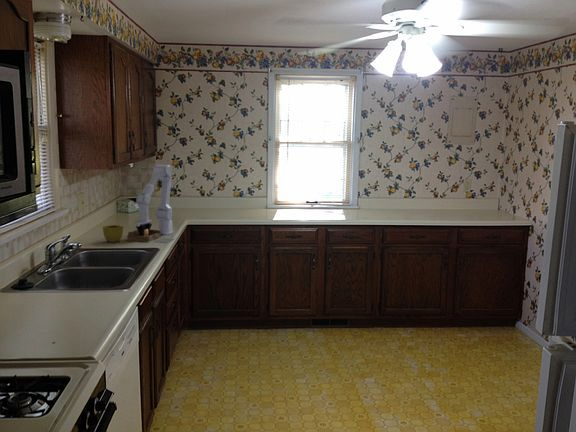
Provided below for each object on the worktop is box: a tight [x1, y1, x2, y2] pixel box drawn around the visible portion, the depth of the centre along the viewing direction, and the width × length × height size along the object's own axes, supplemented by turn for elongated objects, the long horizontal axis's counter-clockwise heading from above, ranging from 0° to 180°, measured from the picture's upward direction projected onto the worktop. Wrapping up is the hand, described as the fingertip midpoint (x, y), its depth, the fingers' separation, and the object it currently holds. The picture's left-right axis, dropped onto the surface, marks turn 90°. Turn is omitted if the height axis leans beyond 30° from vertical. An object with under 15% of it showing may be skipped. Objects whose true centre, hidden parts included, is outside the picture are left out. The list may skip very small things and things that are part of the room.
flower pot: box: [102, 224, 124, 243], centre depth 337 cm, size 9×9×9 cm
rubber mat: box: [153, 237, 176, 244], centre depth 342 cm, size 12×8×1 cm, turn 162°
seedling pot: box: [144, 228, 148, 237], centre depth 345 cm, size 5×5×6 cm
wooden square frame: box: [126, 229, 162, 243], centre depth 346 cm, size 14×14×4 cm
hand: (144, 236), depth 346 cm, fingers closed on seedling pot, 5 cm apart
